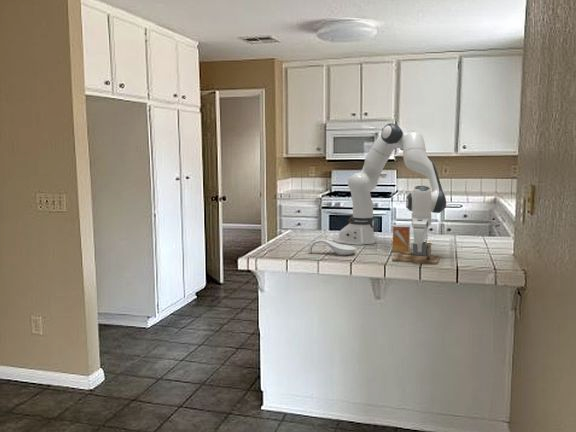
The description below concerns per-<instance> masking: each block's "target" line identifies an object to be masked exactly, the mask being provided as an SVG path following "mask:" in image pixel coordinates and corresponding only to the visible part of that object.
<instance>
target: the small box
mask: <svg viewBox="0 0 576 432" xmlns="http://www.w3.org/2000/svg"><path fill="white" fill-rule="evenodd" d="M410 242H411V225H408V224H394V225H393V227H392V252H396V253H397V252H398V253H400V252H401V251H402V252H410V245H411V243H410Z"/></svg>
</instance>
